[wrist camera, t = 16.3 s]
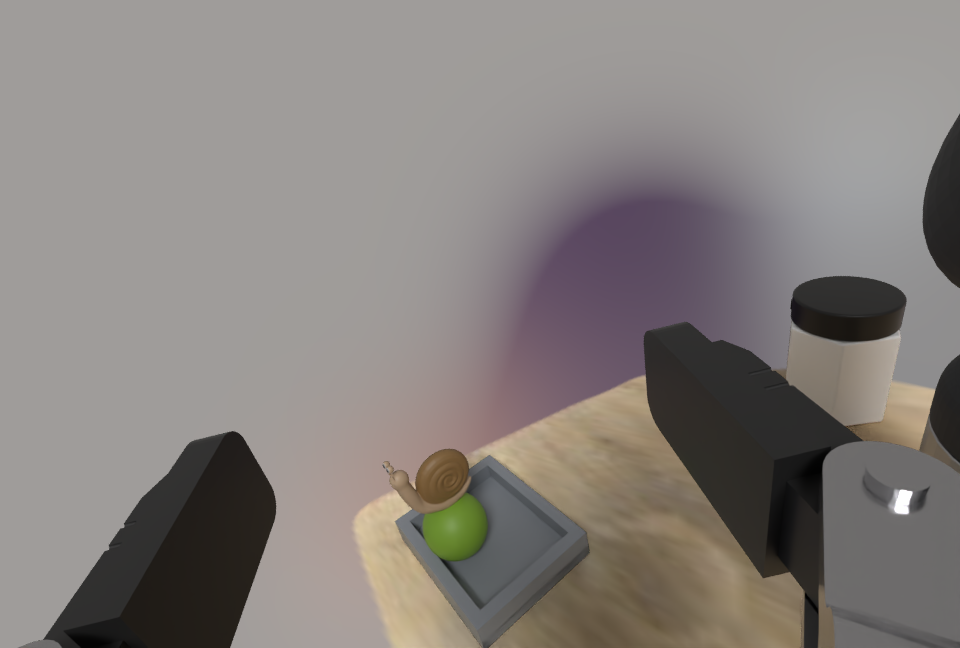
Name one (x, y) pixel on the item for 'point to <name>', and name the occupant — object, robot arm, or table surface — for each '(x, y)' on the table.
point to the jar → (845, 345)
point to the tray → (502, 553)
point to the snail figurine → (444, 504)
